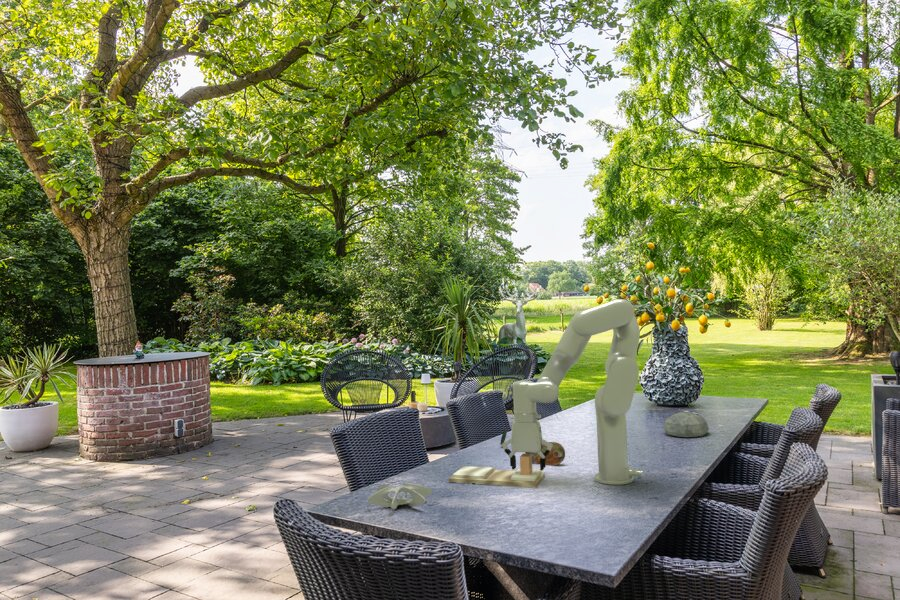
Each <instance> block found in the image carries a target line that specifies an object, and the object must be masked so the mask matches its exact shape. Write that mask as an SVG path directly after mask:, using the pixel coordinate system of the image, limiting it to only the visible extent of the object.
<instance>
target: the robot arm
mask: <svg viewBox="0 0 900 600" xmlns="http://www.w3.org/2000/svg"><path fill="white" fill-rule="evenodd" d="M638 322H639V321H638V320H637V316H635V307H634V305H633V304H632V302H630V301H629V300H626V299H624V298H623V299H622V298H617V299H611V300H609V301H607V303H603V304H601V305H598V306H595V307H592V308H589V309H584V310H583V309H582V310H578V311H577V312H575V313H574V314H573V316H572V317H571V320H570V321H569V323H568V324H567V326H566V328H565V331H564V332H563V334H562V336H561V337H560V338H559V342H557V344H556V346H555V348H554V350H553V352H552V354H551V356H550V358H549V359H548V361H547V363H546V365H545V366H544V368H543V370H542V371H541V374H540V375H539V376H538V379H537V381H536V382H534V381H531V380H519V381H518V380H517V381H515V382H513V384H512V395H513V397H512V399H513V417H514V421H513V422H512V425H511V437H510V438H508V440H505V441H504V443H502V446H501V447H502V449H503V450H504V453H505V454H506V455H508V457H509V464H510V467H511V470H515V469H516V468H517V456H516V455H515V454H516V453H525V452H529V453H538V454H539V455H540V456H541V458H540V464H539V469H540V470H541V471H542V472H544V470H545V468H546V466H547V465H546V462H545V457H546V456H547V455H548V454H549V453H550V451H551V449H552V447H553V444H551V443H549V442H550V441H548V440H545V439H544V438H543V433H542V427H541V423H540V421H539V419H541V418H542V414H538V412H537V403H541V404H551V403H554V402H556V401H557V400H558V398H559V395H560V389H559V388H560V386H561V383H562V381H563V380H564V378H565V376H566V375H567V373H568V372H569V371H570V369H571V368H572V367H574V366H575V364H577V362H578V361H579V360H580V358H581V357H582V354H583V352H584V350H585V349H586V347H587V345H588V343H589V341H590V339H591V338H592V337H593V336H595V335H598V334H602V333H606V332H608V331H611V330H612V331H613V332H612V333H613V334H612V340H611V343H610V344H611V345H610V348H609V351H608V355H607V358H606V362H605V365H604V372H605V374H606V378H605V382H604V384H603V385H602V386H600V387H599V388H598V389H597V390H596V392H595V394H594V395H595V396H594V409H595V415H596V416H595V417H596V434H597V435H596V436H597V438H596V439H597V459H598V460H597V461H598V463H597V464H598V473H596V474H594V475H593V479H594V481H595V482H596V483H600V484H604V485H614V486H615V485H618V486H619V485H627V484H630V483H632V482H634V477H643V470H640V469H632V468H630V465H629V460H628V459H629V458H628V437H627V435H628V434H627V417H626V415H627V413H628V412H629V410H630V407H631V405H632V402H633V398H634V396H635V391H636V388H637V385H638V382H639V381H638V380H639V376H640V367H639V364H638V362H637V361H636V356H637V352H638V347H639V342H640V334H641V332H640V331H641V330H640V325H639V323H638ZM510 444H511V449H510V448H509V447H508V445H510ZM543 445H545V446H547V450H546V451H545V452H544V451H543V450H542V448H543Z"/></svg>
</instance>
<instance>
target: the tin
mask: <svg viewBox="0 0 900 600" xmlns="http://www.w3.org/2000/svg"><path fill="white" fill-rule="evenodd" d="M548 442H549V443H551V444H553V447H552V449H551V451H550V453H549V454H548V455H547V456H546V457H545V462H546V466H558V465H560V464H561V463H563V462H564V461H565V458H566V450H565V448H564V446H563V445H562V444H560V442H556V441H548ZM542 450H543V451H544V452H545V451H546V450H547V446H545V445H543V448H542ZM524 453H526V454H532V465H540V458H541V456H540V455H539V454H538V453H529V452H524Z"/></svg>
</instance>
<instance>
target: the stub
mask: <svg viewBox="0 0 900 600" xmlns="http://www.w3.org/2000/svg"><path fill="white" fill-rule="evenodd" d="M519 466H520V468H518V469H516V470H515V471H516V472H515V473H514V474H513V476H512V477H511V480H516V481H535V480H536V479H537V478H538V476H539V475H540V474H541V472H543V471H541V470H540V468H533V463H532V454H526V453H525V452H522V454H521V455H520V456H519Z"/></svg>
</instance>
